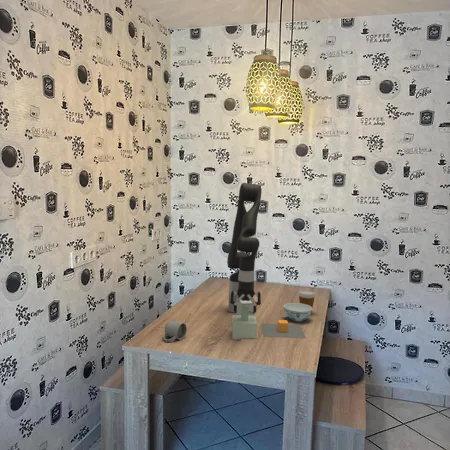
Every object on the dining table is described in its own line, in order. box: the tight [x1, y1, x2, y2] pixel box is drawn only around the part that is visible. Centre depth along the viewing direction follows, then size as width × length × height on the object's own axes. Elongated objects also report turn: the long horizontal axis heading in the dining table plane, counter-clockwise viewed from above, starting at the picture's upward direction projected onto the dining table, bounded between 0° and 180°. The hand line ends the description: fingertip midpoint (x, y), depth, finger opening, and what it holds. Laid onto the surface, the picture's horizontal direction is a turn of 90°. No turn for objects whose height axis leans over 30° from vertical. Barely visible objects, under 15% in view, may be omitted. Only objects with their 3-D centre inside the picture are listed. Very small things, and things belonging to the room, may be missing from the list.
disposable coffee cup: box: [298, 289, 316, 316], centre depth 243 cm, size 10×10×12 cm
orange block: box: [277, 319, 289, 332], centre depth 212 cm, size 4×4×4 cm
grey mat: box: [260, 323, 307, 339], centre depth 212 cm, size 20×18×1 cm
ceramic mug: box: [163, 320, 188, 343], centre depth 199 cm, size 11×8×8 cm
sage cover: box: [231, 305, 258, 341], centre depth 205 cm, size 11×11×14 cm
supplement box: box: [236, 300, 255, 316], centre depth 220 cm, size 7×7×13 cm
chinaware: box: [283, 302, 313, 323], centre depth 229 cm, size 15×15×8 cm
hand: (244, 312), depth 205 cm, fingers open, 8 cm apart
